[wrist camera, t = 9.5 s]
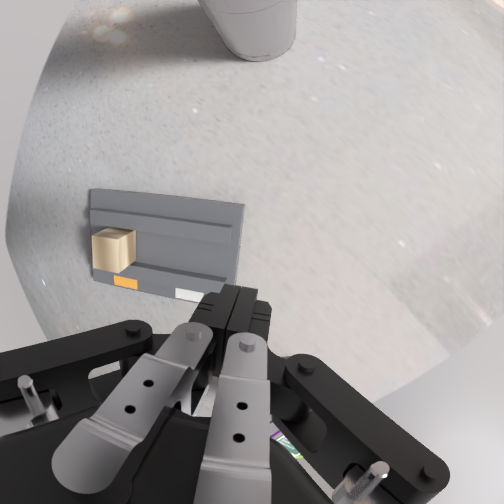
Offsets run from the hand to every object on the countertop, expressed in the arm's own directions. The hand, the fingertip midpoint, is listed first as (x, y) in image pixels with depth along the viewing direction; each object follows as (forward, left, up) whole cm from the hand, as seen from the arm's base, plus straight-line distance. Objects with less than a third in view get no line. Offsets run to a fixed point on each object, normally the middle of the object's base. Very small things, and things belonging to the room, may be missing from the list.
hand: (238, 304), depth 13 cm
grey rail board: (+7, -14, -26) cm, 30 cm away
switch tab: (+7, -19, -24) cm, 32 cm away
